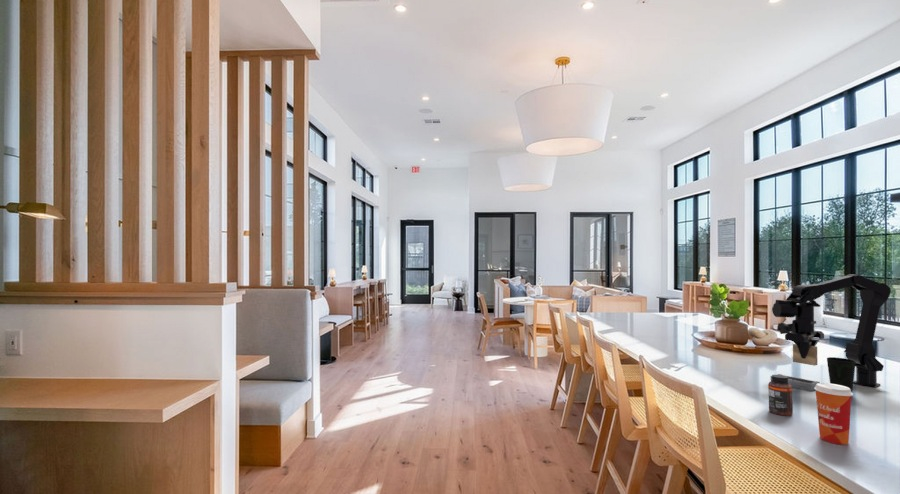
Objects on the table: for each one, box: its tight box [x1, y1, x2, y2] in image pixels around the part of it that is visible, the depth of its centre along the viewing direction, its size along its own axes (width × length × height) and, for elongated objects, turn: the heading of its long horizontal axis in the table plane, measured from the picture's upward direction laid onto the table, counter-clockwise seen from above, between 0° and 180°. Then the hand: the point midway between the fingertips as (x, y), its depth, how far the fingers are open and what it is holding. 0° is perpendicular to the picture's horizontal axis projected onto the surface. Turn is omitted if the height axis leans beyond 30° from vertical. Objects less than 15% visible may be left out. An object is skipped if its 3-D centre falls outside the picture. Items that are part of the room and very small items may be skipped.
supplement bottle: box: [767, 374, 794, 417], centre depth 135 cm, size 6×6×11 cm
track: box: [770, 373, 821, 392], centre depth 166 cm, size 7×13×2 cm, turn 31°
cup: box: [826, 356, 856, 393], centre depth 156 cm, size 8×8×12 cm
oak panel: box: [792, 343, 818, 367], centre depth 171 cm, size 2×7×7 cm, turn 31°
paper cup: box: [814, 382, 854, 446], centre depth 114 cm, size 8×8×14 cm
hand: (805, 357), depth 171 cm, fingers closed on oak panel, 2 cm apart
